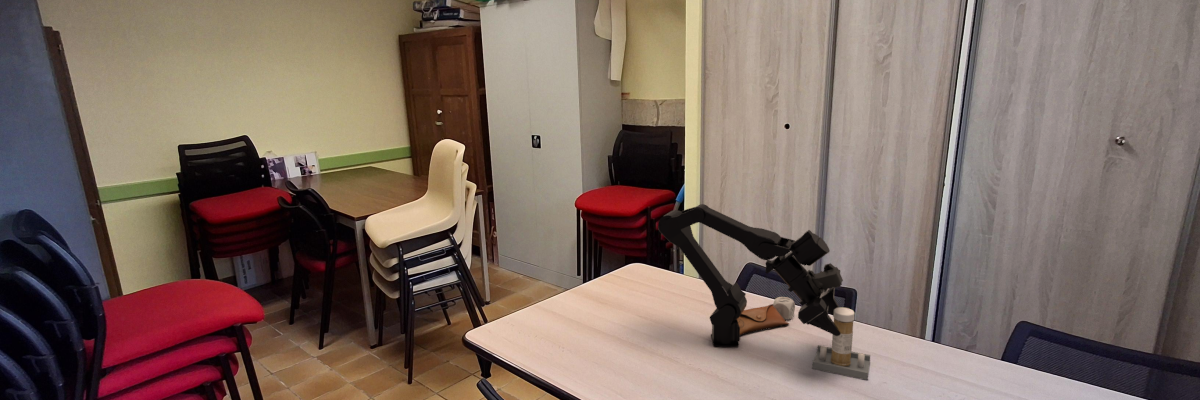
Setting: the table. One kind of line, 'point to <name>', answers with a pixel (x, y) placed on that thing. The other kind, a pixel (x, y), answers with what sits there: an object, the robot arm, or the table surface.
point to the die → (784, 307)
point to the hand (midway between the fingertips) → (841, 327)
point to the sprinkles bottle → (842, 336)
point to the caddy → (855, 369)
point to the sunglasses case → (760, 319)
